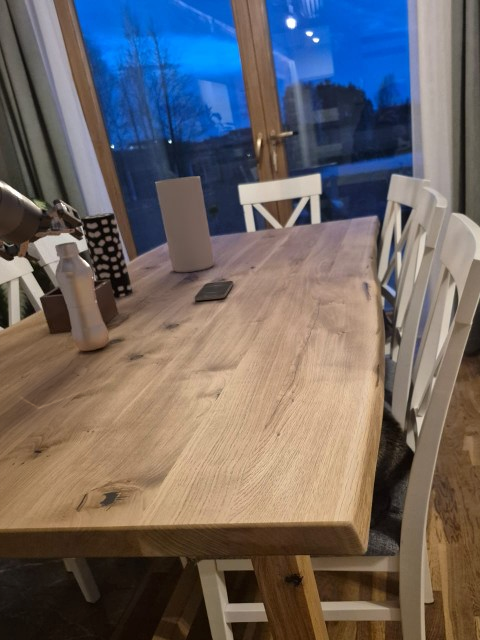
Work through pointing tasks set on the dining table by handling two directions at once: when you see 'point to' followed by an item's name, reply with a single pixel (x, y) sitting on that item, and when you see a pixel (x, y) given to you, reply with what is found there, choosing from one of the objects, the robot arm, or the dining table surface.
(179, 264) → the cylinder vase
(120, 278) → the white-spotted black cylinder
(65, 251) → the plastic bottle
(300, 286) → the dining table surface
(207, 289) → the smartphone
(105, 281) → the holder
